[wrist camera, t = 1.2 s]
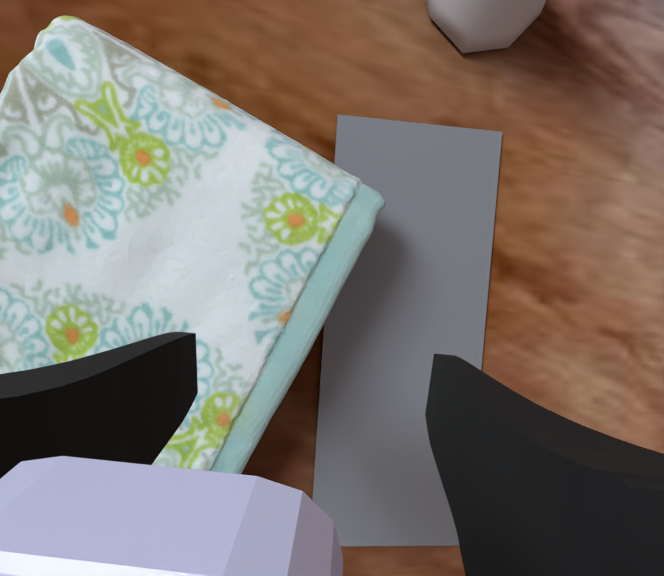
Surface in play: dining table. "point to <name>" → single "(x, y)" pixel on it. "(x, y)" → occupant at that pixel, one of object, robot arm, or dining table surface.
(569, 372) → the dining table surface
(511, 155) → the dining table surface
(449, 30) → the flask
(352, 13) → the dining table surface
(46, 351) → the towel
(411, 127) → the slate mat
